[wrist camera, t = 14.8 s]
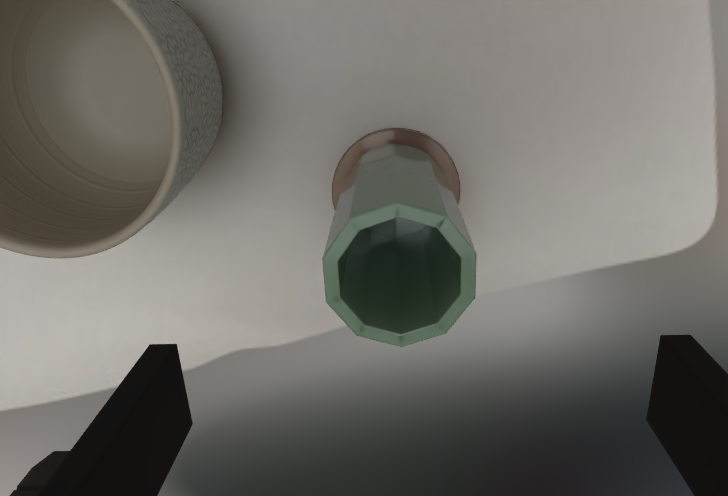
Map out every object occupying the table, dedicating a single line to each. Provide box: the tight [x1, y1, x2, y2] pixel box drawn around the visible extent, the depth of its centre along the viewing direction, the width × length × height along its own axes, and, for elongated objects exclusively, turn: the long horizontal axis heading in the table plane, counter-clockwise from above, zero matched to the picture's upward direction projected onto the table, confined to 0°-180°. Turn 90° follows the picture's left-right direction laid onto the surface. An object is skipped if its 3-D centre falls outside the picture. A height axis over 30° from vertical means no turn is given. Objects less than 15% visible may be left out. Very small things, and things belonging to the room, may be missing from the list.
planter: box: [0, 0, 223, 258], centre depth 27 cm, size 12×12×11 cm
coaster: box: [332, 128, 460, 211], centre depth 34 cm, size 8×8×1 cm
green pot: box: [322, 144, 476, 347], centre depth 28 cm, size 6×6×12 cm
